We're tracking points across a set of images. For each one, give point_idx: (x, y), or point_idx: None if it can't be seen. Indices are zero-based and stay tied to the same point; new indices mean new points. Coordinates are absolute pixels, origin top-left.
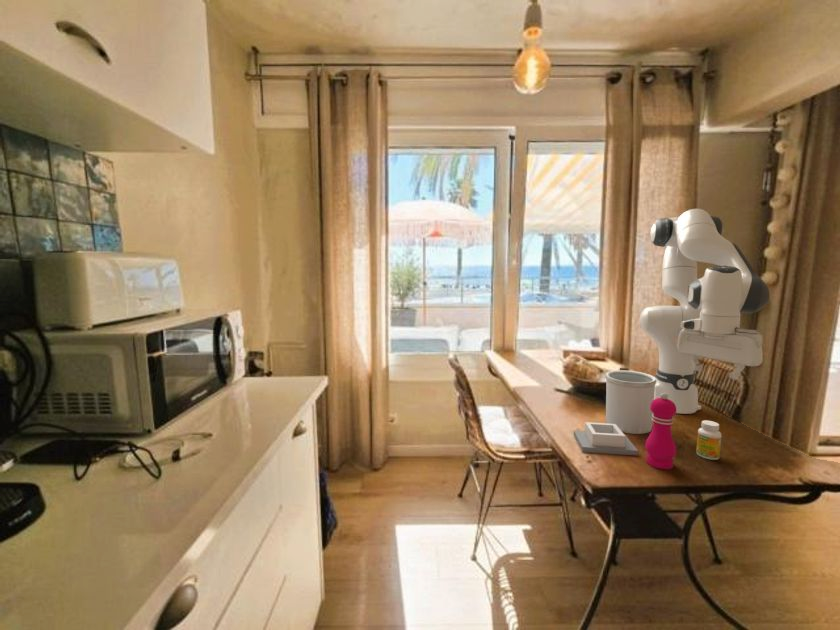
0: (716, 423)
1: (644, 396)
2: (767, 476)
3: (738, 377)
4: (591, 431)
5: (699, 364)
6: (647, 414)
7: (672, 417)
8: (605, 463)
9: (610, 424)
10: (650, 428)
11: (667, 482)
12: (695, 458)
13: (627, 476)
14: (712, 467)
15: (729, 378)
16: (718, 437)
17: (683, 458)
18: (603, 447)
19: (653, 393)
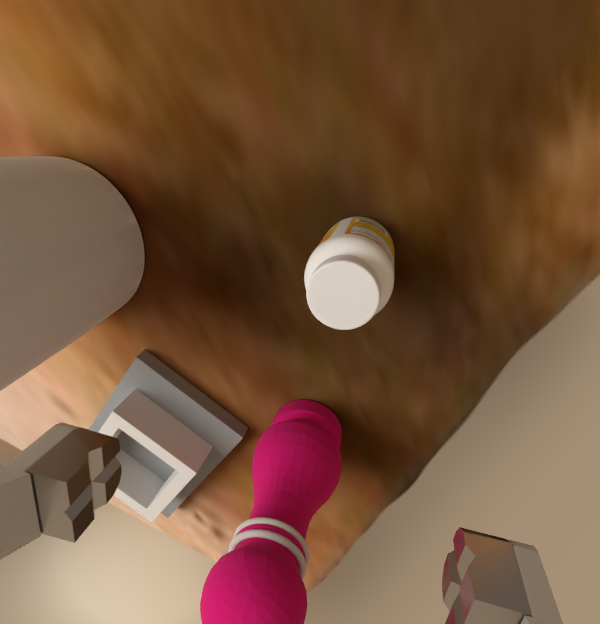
0: (361, 277)
1: (30, 339)
2: (556, 245)
3: (538, 567)
4: (136, 510)
5: (30, 481)
6: (98, 280)
7: (292, 552)
8: (241, 517)
9: (112, 428)
10: (132, 228)
11: (375, 501)
12: None
13: (308, 536)
14: (407, 331)
15: (448, 573)
16: (391, 293)
17: (324, 341)
18: (190, 485)
19: (7, 267)
